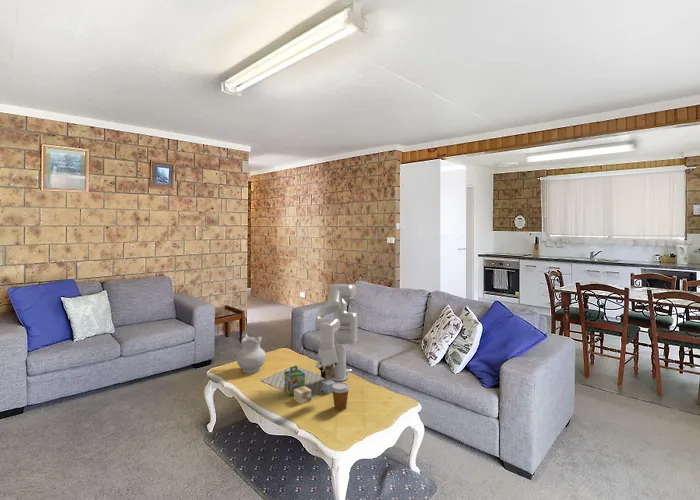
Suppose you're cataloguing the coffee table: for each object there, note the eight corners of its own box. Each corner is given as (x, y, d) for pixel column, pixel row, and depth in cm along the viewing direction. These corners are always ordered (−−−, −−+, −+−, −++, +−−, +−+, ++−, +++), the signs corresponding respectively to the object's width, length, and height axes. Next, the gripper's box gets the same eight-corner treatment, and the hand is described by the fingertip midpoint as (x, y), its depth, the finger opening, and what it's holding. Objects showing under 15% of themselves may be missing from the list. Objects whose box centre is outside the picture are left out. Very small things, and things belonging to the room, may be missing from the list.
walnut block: (329, 374, 216) (328, 364, 215) (334, 377, 212) (334, 367, 211) (321, 376, 212) (320, 367, 212) (326, 380, 208) (326, 370, 208)
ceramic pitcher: (229, 372, 257) (225, 336, 254) (251, 361, 273) (248, 327, 270) (250, 379, 245) (247, 342, 242) (273, 367, 261) (270, 332, 258)
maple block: (304, 396, 218) (304, 385, 218) (311, 400, 213) (311, 390, 212) (294, 399, 214) (293, 389, 214) (300, 404, 209) (300, 393, 208)
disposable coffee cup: (343, 413, 198) (342, 390, 197) (328, 408, 203) (327, 386, 202) (352, 406, 206) (352, 384, 205) (338, 401, 211) (337, 380, 210)
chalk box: (291, 396, 218) (291, 371, 217) (284, 391, 225) (283, 366, 224) (305, 392, 223) (305, 367, 222) (297, 387, 230) (297, 362, 230)
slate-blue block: (330, 388, 229) (330, 379, 228) (335, 391, 224) (335, 382, 224) (322, 390, 225) (322, 381, 225) (327, 394, 221) (327, 384, 220)
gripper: (335, 339, 218) (336, 369, 220) (310, 346, 208) (311, 378, 210) (343, 342, 212) (344, 374, 214) (318, 350, 202) (318, 383, 204)
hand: (327, 375), depth 212 cm, fingers closed on walnut block, 5 cm apart
